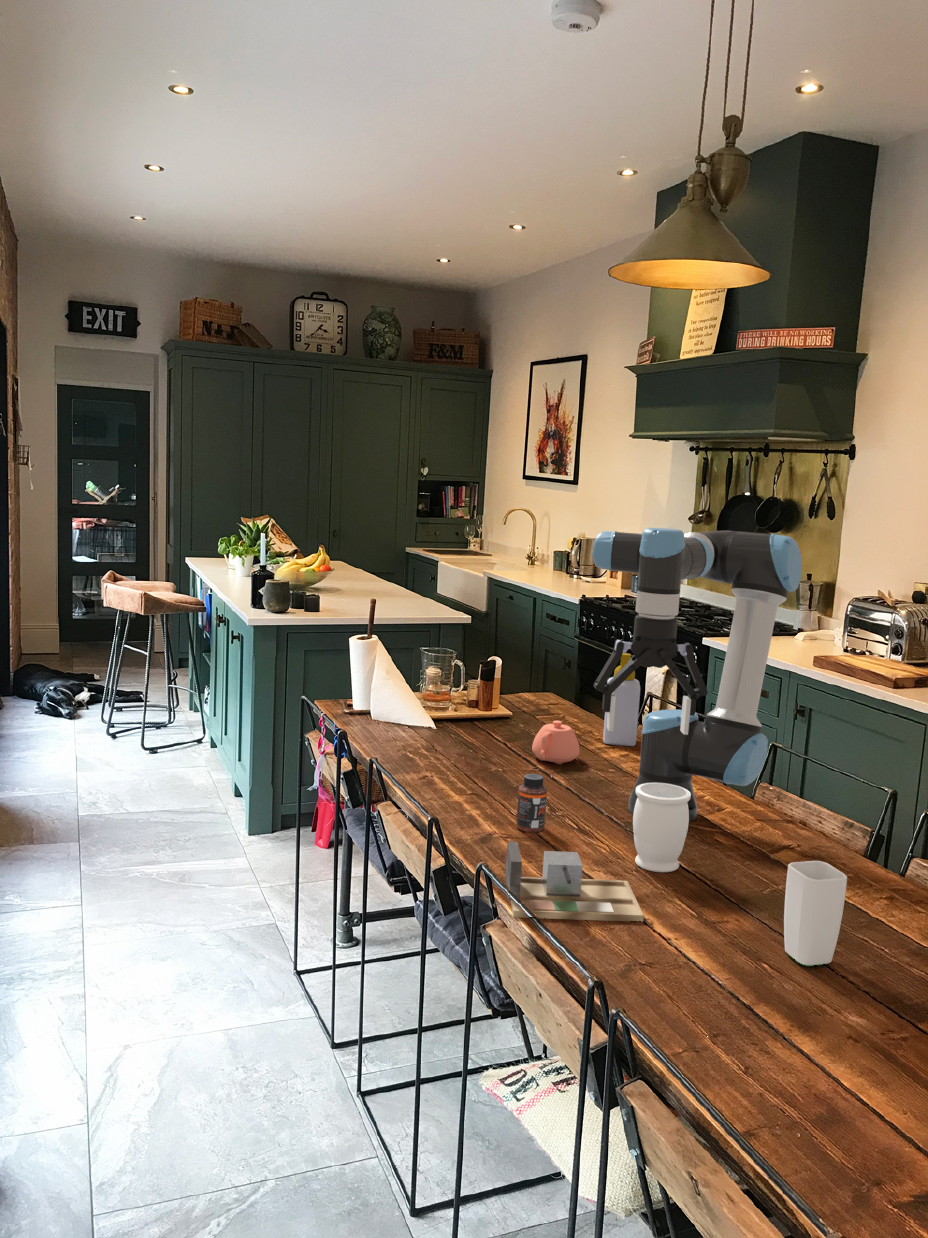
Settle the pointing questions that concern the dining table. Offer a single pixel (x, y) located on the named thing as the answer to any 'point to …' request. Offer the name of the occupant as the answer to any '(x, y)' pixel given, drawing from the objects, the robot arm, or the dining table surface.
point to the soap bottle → (624, 710)
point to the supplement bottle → (531, 804)
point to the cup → (813, 911)
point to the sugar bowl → (556, 743)
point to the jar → (660, 825)
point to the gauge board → (593, 904)
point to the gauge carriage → (562, 874)
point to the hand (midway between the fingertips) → (646, 731)
